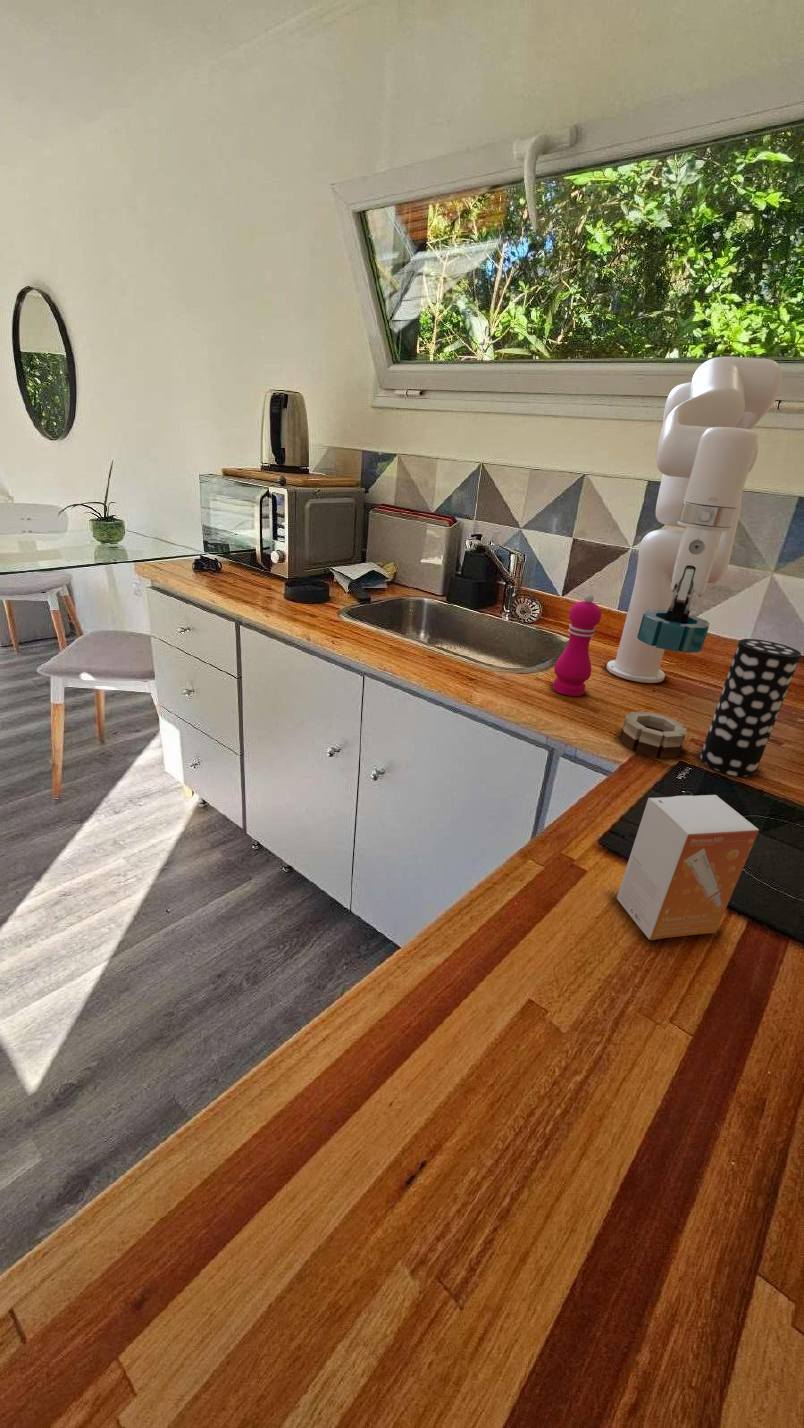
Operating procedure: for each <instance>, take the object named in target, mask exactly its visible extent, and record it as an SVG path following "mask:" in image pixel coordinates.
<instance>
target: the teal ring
mask: <svg viewBox="0 0 804 1428" xmlns="http://www.w3.org/2000/svg"><path fill="white" fill-rule="evenodd" d="M666 614H667V611H665V610H648V611H647V610H646V611H645V613H644V614H643V617H642V621H641V625H640V629H639V632H638V636H637V638H639V639H638V640H640V641H642V642H644V643H646V644H648V645H650V646H656V648H660V649H665V650H666V651H670V652H675V653H678V652H680V653H685V654H686V653H700V652H702V651H703V647H704V644H705V641H706V638H707V635H708V631H709V628H710V622H709V621H708V620H706V619H703V618H701V617H698V616H695V615H689V616H688V619H687V622H686V624H681V623H676V622H671V621H666V620H665V618H666Z"/></svg>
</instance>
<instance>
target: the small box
mask: <svg viewBox="0 0 804 1428" xmlns="http://www.w3.org/2000/svg"><path fill="white" fill-rule="evenodd" d="M759 831H760V829H759V828H758V827H757V826H755V825H754V824H753V823H752V822H750V821H749V820H748V819H746V818H745V817H744V816H743V815H741V814H740V813H739V812H738V811H737V810H735V809H734V808H733V807H732V806H730V805H729V804H728V803H727V802H726V801H724V800H723V799H722V798H721V797H719V796H718V795H717V794H705V795H704V794H703V795H701V794H700V795H675V796H663V797H662V796H661V797H648V798H647V801H646V803H645V808H644V811H643V814H642V817H641V820H640V824H639V826H638V829H637V832H636V836H635V839H634V841H633V845H632V848H631V852H630V855H629V858H628V860H627V861H628V862H627V864H626V867H625V871H624V874H623V876H622V880H621V883H620V886H619V889H618V892H617V895H616V900H617V901H618V902H619V903H620V905H621V906H622V907H623V909H624V910H625V911H626V913H627V914H628V916H629V917H630V918H631V919H632V920H633V921H634V923H635V924H636V925H637V927H638V928H639V930H641V932H643V934H644V935H645V936H646V938H647V939H648V940H649V941H656V940H661V939H668V938H669V939H670V938H679V937H685V936H697V935H706V934H716V932H717V931H718V928H719V926H720V923H721V921H722V919H723V917H724V914H725V911H726V909H727V907H728V904H729V903H730V900H731V898H732V895H733V893H734V890H735V888H736V886H737V883H738V881H739V878H740V877H741V874H742V872H743V869H744V867H745V865H746V862H747V859H748V858H749V855H750V852H751V851H752V848H753V845H754V843H755V841H756V839H757V836H758V834H759Z"/></svg>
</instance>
